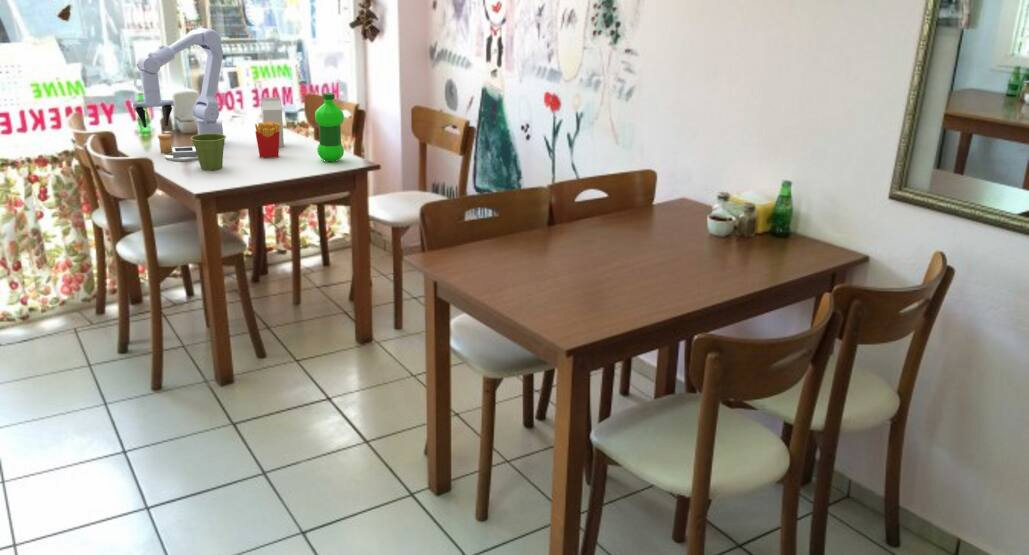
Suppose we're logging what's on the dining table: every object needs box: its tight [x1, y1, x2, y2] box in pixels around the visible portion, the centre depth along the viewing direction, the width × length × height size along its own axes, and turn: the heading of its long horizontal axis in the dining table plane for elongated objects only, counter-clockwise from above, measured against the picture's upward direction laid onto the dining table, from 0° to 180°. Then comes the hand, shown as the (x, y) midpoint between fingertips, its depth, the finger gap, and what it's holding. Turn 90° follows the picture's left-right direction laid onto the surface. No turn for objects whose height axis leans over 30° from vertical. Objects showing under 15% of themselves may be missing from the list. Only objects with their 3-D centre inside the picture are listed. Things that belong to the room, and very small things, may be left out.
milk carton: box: [260, 97, 285, 148], centre depth 330 cm, size 7×7×19 cm
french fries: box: [254, 122, 281, 158], centre depth 314 cm, size 9×4×13 cm, turn 108°
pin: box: [157, 133, 172, 155], centre depth 314 cm, size 5×5×7 cm
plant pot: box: [190, 134, 227, 171], centre depth 295 cm, size 12×12×11 cm
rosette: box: [164, 145, 199, 163], centre depth 310 cm, size 20×13×3 cm, turn 113°
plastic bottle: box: [314, 92, 345, 162], centre depth 311 cm, size 10×10×25 cm
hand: (155, 126), depth 313 cm, fingers open, 7 cm apart
